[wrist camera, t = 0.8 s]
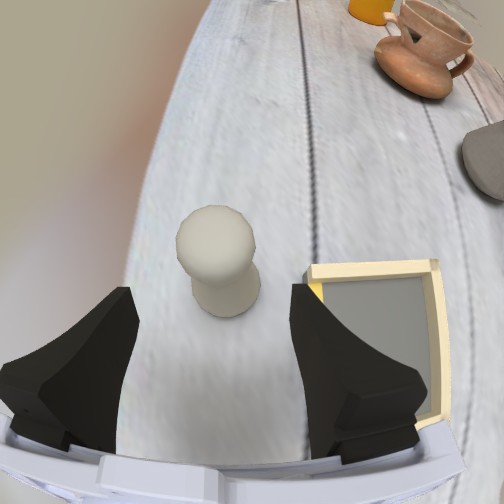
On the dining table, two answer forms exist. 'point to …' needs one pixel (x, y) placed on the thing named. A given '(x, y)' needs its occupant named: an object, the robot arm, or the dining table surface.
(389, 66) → the ceramic jug
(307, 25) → the dining table surface
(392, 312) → the tray
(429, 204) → the dining table surface
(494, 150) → the coffee pot
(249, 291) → the salt shaker
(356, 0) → the beer bottle
